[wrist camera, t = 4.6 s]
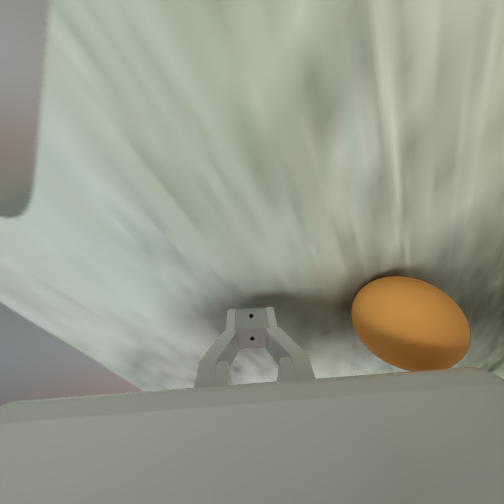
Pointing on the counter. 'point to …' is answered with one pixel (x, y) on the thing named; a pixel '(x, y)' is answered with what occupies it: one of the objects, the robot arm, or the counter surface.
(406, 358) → the ball
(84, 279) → the counter surface
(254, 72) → the counter surface
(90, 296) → the counter surface
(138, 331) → the counter surface
